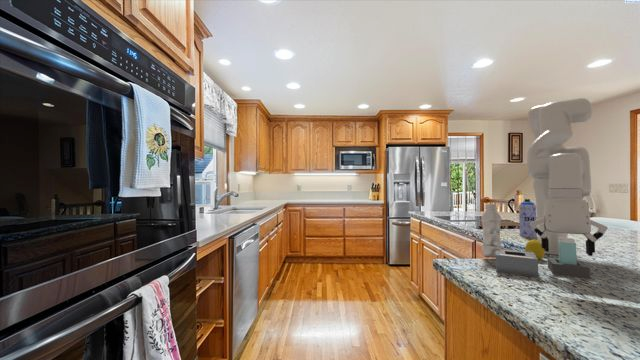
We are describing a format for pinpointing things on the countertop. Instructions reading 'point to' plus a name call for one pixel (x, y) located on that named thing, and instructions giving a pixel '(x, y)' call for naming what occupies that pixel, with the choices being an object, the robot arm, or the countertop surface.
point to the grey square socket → (569, 268)
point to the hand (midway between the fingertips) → (567, 252)
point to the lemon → (535, 248)
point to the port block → (516, 262)
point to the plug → (567, 251)
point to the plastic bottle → (491, 230)
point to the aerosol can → (527, 218)
